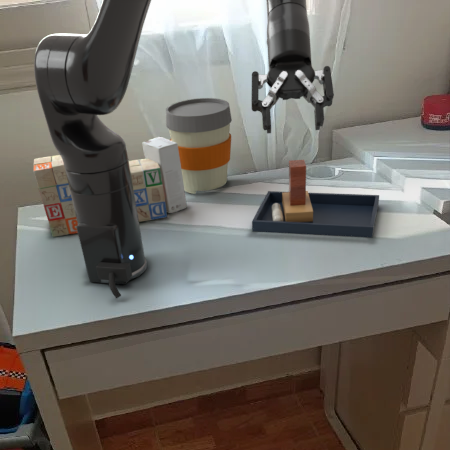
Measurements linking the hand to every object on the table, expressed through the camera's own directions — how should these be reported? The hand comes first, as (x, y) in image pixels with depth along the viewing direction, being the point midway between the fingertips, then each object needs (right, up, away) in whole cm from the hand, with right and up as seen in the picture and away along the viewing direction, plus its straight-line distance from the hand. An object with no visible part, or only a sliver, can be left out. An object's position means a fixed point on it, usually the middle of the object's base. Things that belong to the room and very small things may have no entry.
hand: (293, 129), depth 106 cm
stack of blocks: (-34, -14, +8) cm, 37 cm away
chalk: (-3, -15, +1) cm, 15 cm away
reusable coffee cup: (-16, -4, +18) cm, 24 cm away
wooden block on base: (+1, -15, +1) cm, 15 cm away
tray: (+4, -16, +1) cm, 16 cm away
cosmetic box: (-23, -10, +11) cm, 27 cm away
